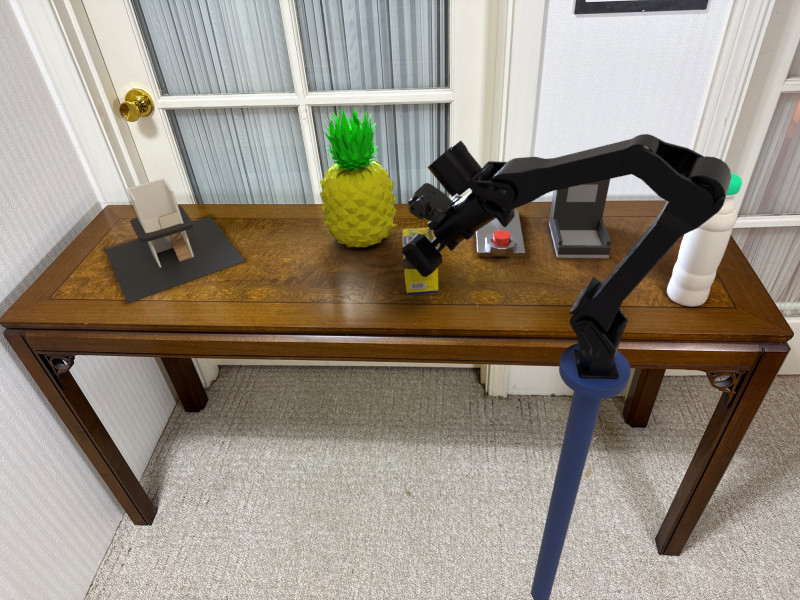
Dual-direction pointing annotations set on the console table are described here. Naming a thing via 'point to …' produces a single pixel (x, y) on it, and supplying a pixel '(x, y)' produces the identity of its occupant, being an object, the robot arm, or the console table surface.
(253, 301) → the console table surface
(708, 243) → the water bottle
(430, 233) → the supplement box
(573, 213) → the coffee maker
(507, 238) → the button
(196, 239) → the beige and grey stand
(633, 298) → the console table surface
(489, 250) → the button block
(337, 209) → the pineapple
